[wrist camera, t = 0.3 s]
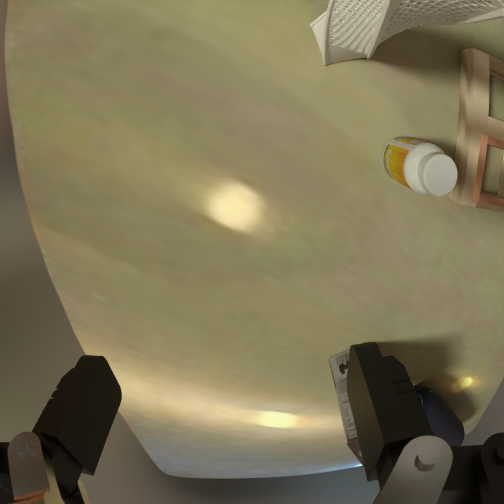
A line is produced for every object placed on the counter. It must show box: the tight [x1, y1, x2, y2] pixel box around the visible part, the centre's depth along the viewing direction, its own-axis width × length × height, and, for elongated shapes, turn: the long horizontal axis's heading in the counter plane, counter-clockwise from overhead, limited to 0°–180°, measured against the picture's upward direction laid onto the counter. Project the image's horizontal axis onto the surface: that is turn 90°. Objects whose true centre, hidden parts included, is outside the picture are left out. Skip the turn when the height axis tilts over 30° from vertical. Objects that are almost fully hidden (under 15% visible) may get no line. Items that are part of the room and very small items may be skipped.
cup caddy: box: [449, 48, 504, 212], centre depth 29 cm, size 20×12×3 cm, turn 178°
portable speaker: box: [414, 387, 465, 446], centre depth 48 cm, size 25×10×10 cm, turn 45°
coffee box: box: [329, 349, 364, 466], centre depth 39 cm, size 9×6×16 cm
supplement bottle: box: [382, 137, 458, 196], centre depth 29 cm, size 5×5×10 cm
